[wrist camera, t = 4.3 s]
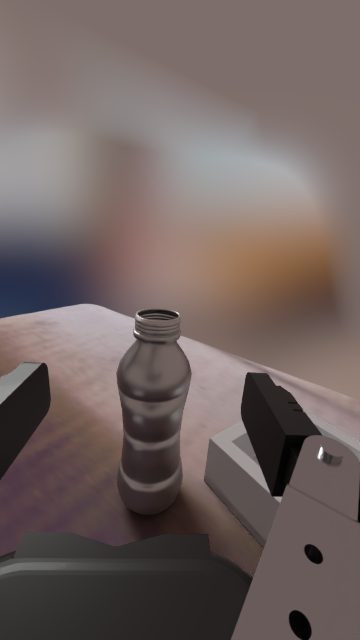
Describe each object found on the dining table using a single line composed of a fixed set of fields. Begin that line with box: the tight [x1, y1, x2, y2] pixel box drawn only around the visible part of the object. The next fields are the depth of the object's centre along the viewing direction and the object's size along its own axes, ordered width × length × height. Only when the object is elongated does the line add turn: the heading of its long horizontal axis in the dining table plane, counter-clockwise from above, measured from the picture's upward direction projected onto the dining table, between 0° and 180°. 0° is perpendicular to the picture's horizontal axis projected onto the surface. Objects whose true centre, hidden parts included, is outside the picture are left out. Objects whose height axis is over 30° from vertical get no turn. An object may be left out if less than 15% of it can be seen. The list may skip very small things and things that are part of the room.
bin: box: [204, 408, 360, 548], centre depth 28 cm, size 14×14×6 cm
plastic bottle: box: [116, 308, 192, 515], centre depth 25 cm, size 6×7×20 cm
